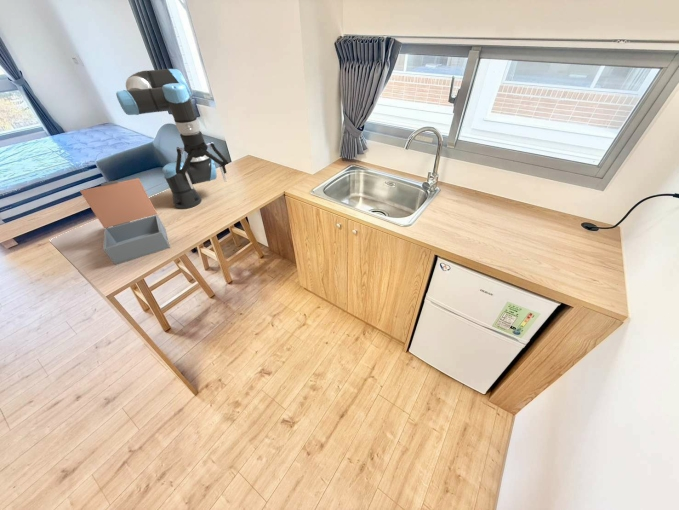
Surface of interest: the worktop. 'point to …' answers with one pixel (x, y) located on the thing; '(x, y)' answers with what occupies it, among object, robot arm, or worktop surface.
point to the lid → (119, 202)
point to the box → (135, 239)
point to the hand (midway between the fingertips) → (209, 184)
